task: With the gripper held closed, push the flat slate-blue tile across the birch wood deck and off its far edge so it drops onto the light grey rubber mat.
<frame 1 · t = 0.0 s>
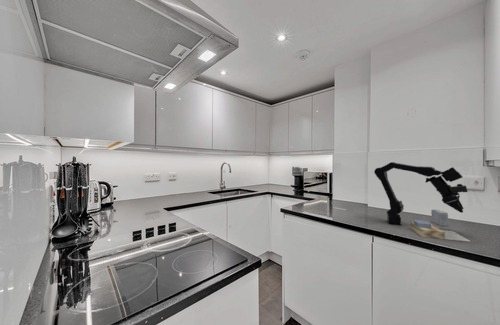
hand: (462, 210, 105), 15 cm above the table, tool tilted 35°, fingers open, 9 cm apart
medicine box: (439, 224, 127), on the table
deck: (426, 233, 112), on the table
mat: (449, 235, 108), on the table
tile: (422, 226, 112), point 4 cm above the table, touching deck
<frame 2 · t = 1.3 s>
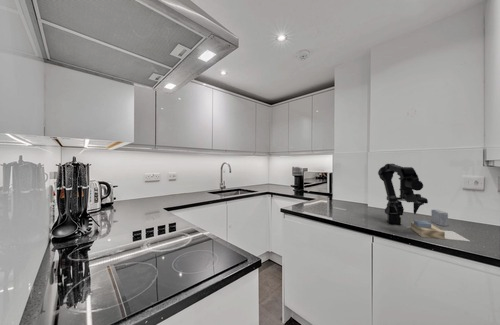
hand: (406, 213, 115), 11 cm above the table, tool pointing down, fingers open, 8 cm apart
nothing on the table moved.
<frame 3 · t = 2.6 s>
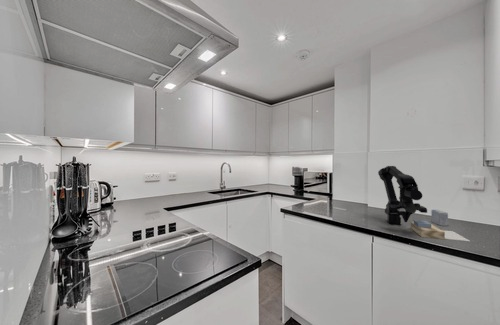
hand: (405, 222, 115), 6 cm above the table, tool pointing down, fingers closed
nothing on the table moved.
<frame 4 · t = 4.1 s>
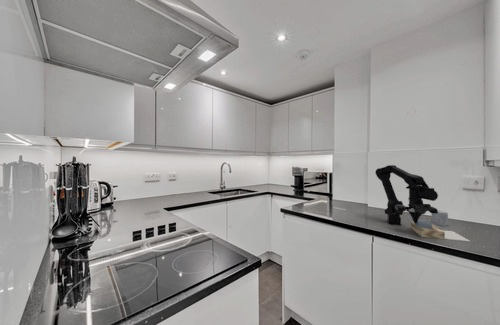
hand: (415, 222, 113), 6 cm above the table, tool pointing down, fingers closed
tile: (423, 226, 112), point 4 cm above the table, touching gripper
everything else where it was.
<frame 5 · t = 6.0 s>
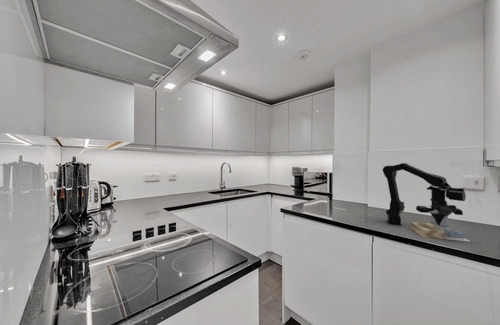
hand: (438, 224, 110), 6 cm above the table, tool pointing down, fingers closed
tile: (453, 231, 107), point 3 cm above the table, tilted 180°, touching mat
everything else where it was.
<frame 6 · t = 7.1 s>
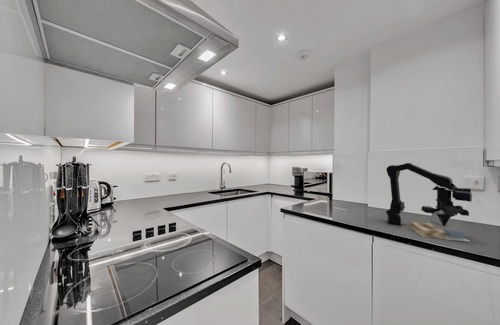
hand: (443, 225, 109), 6 cm above the table, tool pointing down, fingers closed
nothing on the table moved.
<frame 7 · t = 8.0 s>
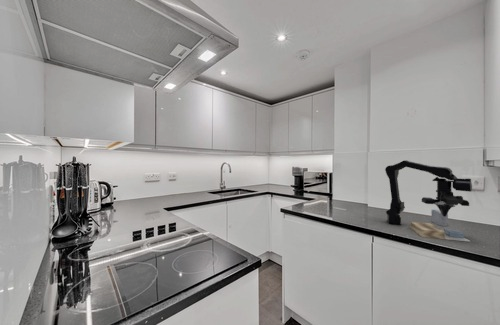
hand: (444, 216, 109), 11 cm above the table, tool pointing down, fingers closed
nothing on the table moved.
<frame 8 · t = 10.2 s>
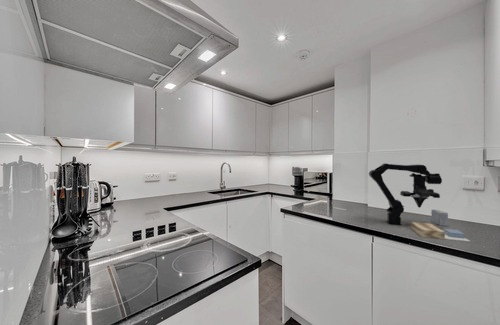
hand: (419, 207, 124), 12 cm above the table, tool pointing down, fingers closed
nothing on the table moved.
at the end: tile inside the target area (1.1 cm from its centre), point 2.9 cm above the table; tile touching mat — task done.
